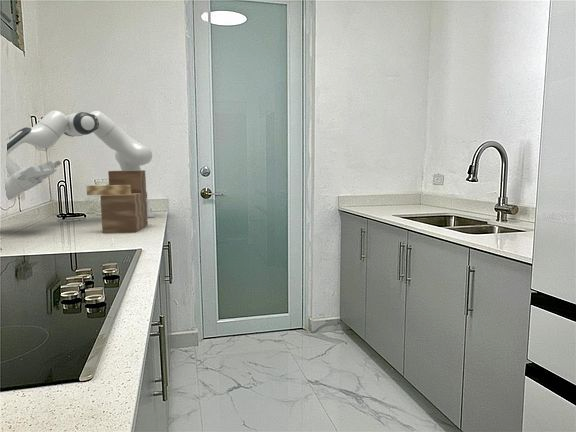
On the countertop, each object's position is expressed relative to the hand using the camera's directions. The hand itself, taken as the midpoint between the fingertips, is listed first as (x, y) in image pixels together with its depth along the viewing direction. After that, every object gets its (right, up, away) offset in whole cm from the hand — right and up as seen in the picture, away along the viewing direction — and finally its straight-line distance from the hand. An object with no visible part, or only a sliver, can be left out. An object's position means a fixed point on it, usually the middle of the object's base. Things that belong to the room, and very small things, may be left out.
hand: (55, 162), depth 203 cm
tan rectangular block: (+22, -14, +3) cm, 26 cm away
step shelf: (+27, -29, +11) cm, 41 cm away
